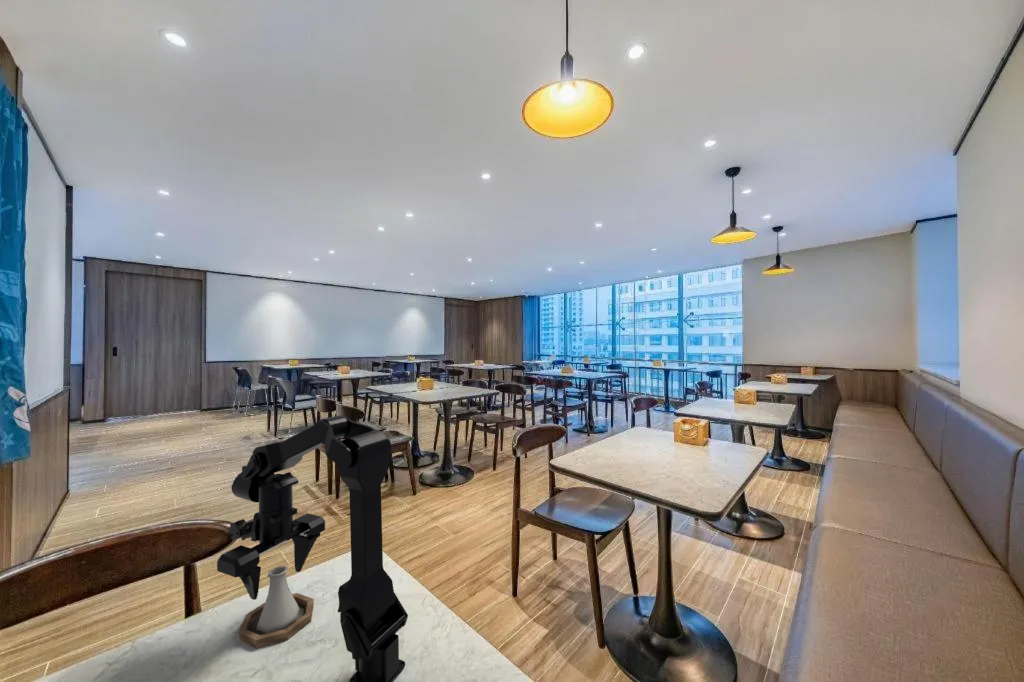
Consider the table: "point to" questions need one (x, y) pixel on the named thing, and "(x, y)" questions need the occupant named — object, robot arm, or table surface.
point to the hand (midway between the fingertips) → (277, 584)
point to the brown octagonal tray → (261, 639)
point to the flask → (278, 604)
